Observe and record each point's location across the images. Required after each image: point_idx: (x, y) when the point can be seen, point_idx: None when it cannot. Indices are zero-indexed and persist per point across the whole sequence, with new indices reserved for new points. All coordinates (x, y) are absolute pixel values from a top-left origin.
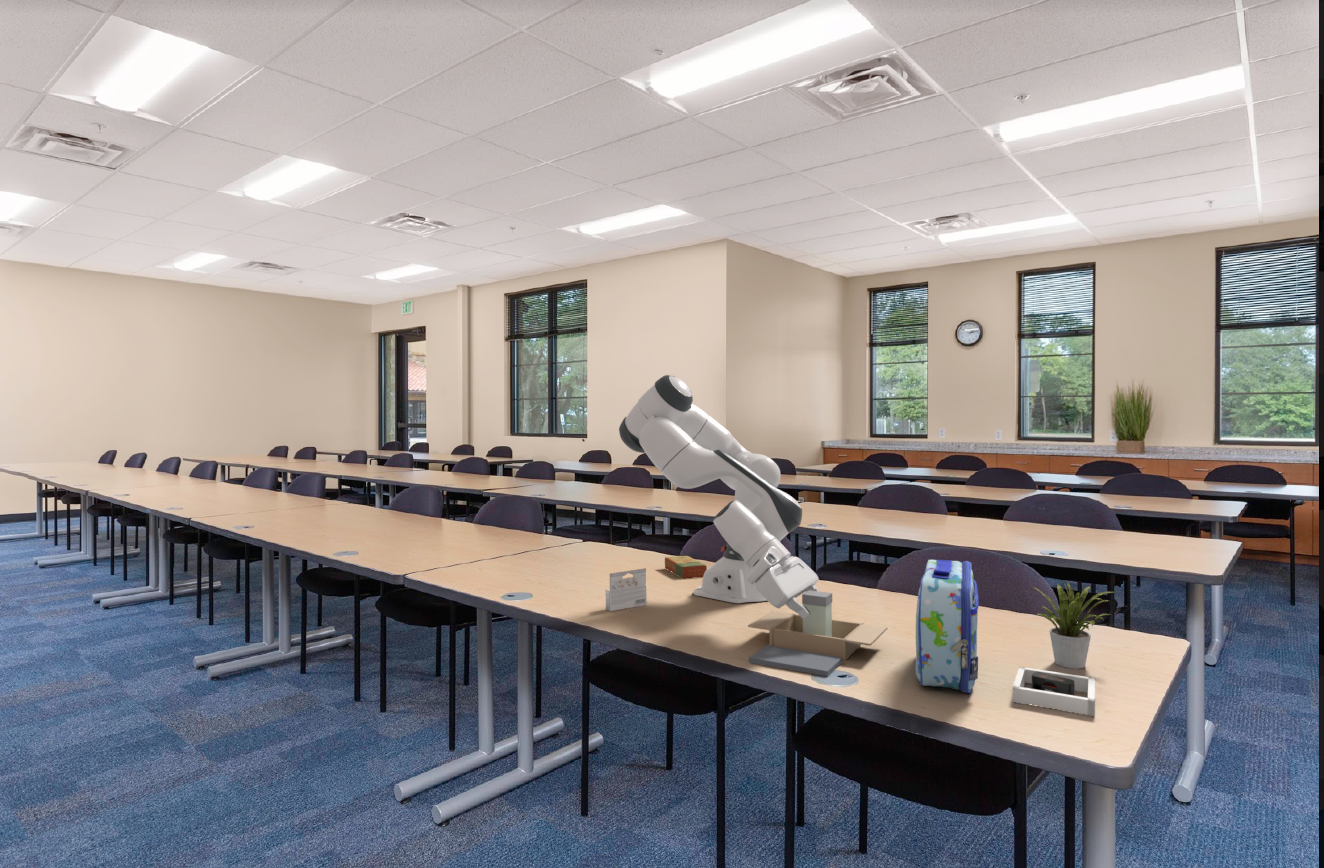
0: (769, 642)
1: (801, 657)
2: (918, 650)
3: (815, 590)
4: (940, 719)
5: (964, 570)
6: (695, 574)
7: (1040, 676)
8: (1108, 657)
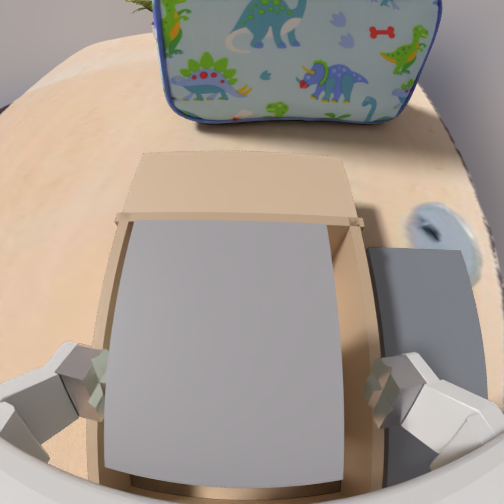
0: None
1: (435, 344)
2: (415, 78)
3: (12, 405)
4: (439, 122)
5: None
6: None
7: None
8: (141, 46)
